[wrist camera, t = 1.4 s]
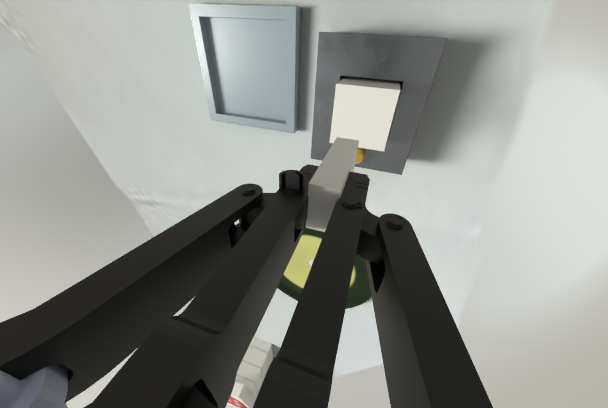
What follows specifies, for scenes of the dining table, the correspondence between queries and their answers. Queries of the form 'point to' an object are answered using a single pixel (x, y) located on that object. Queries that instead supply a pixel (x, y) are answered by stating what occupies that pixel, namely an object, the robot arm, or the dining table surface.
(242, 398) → the pizza boxes
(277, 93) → the tray
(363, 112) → the button
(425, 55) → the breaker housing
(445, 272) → the dining table surface
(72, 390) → the robot arm
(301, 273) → the plate
